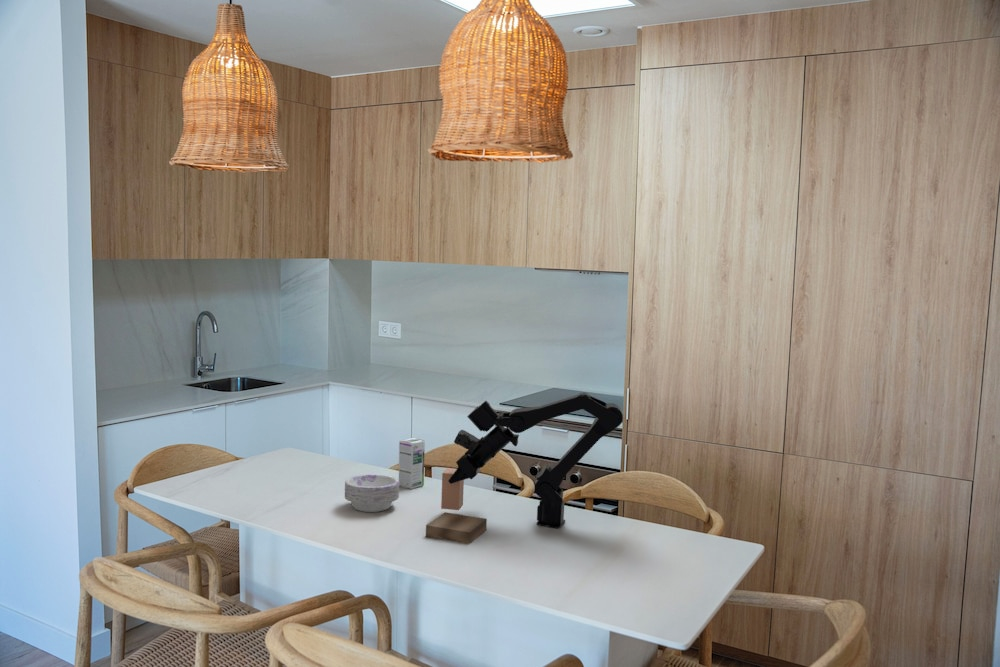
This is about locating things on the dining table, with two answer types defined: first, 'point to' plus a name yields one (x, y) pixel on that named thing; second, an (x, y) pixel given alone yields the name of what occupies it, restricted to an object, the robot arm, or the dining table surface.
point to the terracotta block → (451, 491)
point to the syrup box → (411, 463)
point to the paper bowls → (371, 492)
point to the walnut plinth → (456, 527)
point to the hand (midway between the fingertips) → (451, 479)
